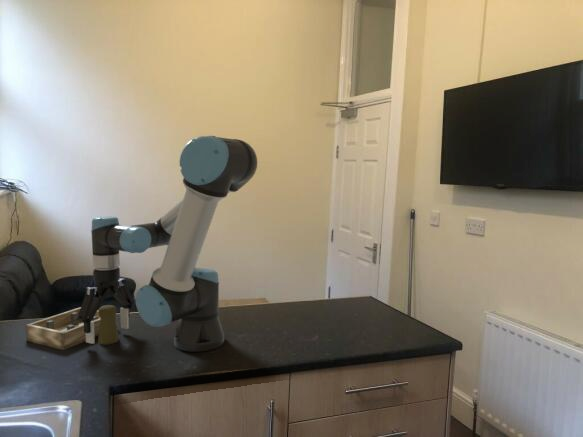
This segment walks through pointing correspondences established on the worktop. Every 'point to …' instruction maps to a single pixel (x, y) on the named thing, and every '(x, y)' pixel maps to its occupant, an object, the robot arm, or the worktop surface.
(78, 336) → the socket box
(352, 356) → the worktop surface
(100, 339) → the cork
